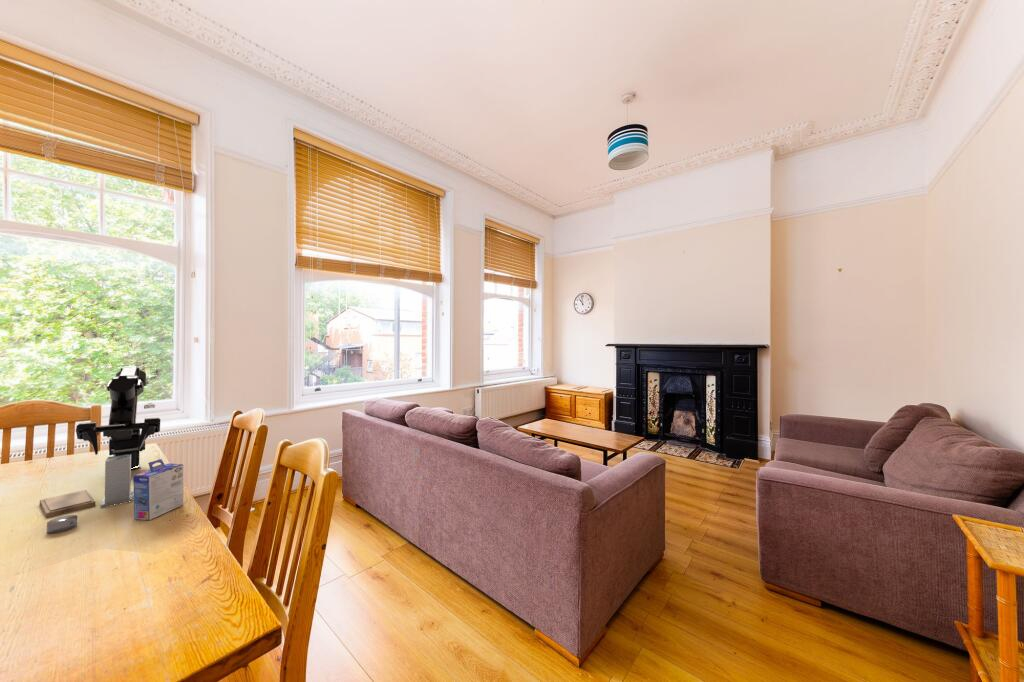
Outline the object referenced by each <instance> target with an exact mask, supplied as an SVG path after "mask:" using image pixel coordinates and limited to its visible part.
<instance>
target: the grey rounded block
mask: <svg viewBox="0 0 1024 682" xmlns="http://www.w3.org/2000/svg"><path fill="white" fill-rule="evenodd" d="M77 526H78V515H76V514H67V515H62V516H59V517H55V518H52V519H50V520H49V521H47V522H46V534H48V535H55V534H61V533H65V532H68V531H71V530H73V529H75V528H77Z"/></svg>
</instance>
